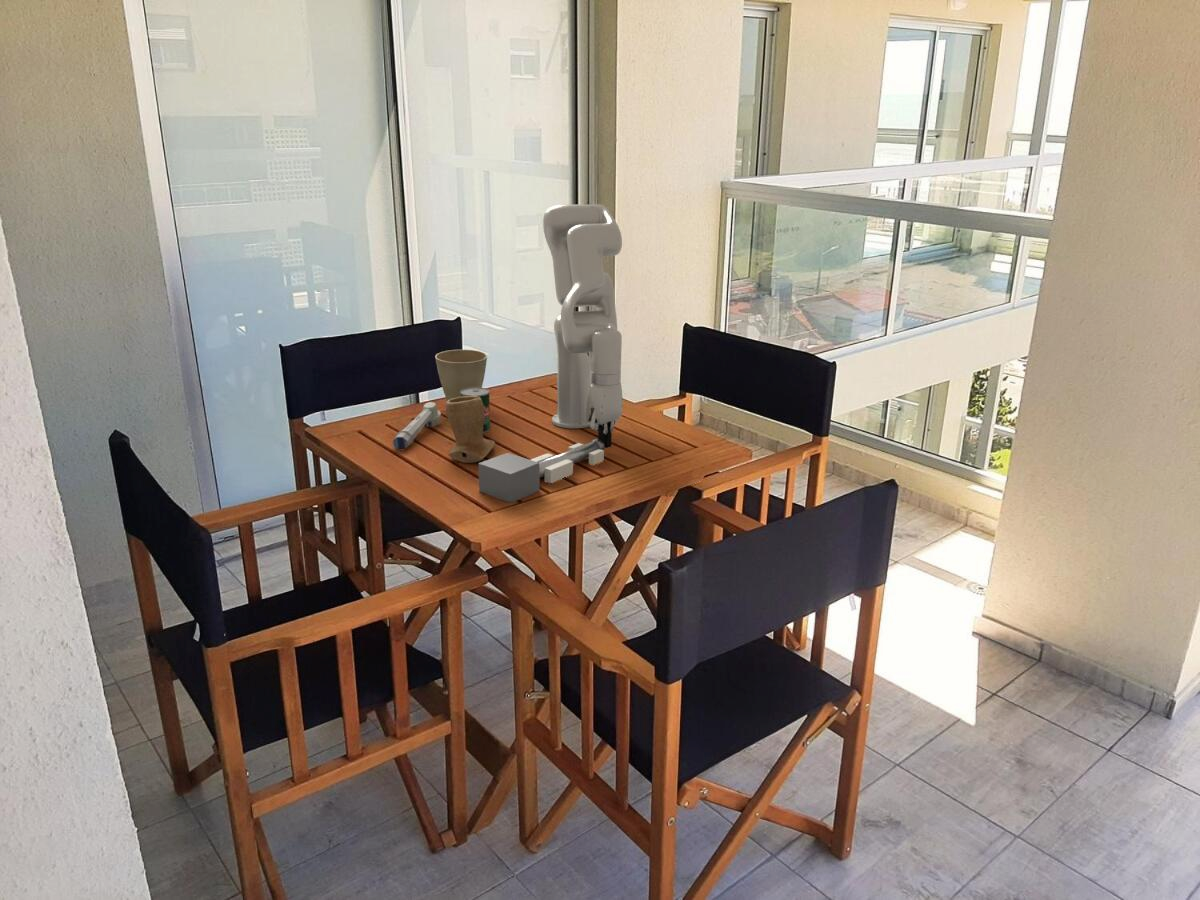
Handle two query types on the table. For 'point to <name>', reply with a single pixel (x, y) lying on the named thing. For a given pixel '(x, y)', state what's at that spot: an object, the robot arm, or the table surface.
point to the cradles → (566, 464)
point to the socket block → (508, 477)
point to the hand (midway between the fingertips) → (604, 446)
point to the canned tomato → (484, 396)
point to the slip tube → (572, 455)
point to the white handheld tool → (417, 425)
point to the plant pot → (460, 370)
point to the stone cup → (468, 429)
